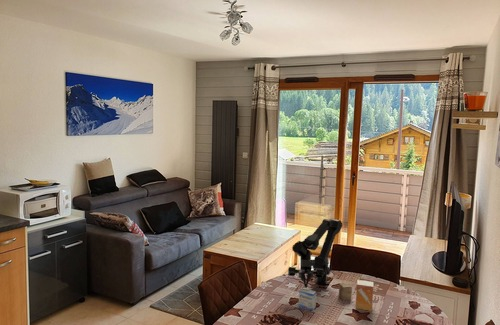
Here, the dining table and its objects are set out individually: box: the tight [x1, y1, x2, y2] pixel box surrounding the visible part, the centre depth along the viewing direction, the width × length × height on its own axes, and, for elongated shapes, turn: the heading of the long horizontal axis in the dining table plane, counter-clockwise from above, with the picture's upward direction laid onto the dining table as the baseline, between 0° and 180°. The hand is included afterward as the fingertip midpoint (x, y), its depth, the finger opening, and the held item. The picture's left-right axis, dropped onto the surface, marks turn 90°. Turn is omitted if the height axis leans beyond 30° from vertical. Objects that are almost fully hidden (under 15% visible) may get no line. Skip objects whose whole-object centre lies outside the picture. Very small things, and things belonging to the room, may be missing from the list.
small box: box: [355, 279, 375, 312], centre depth 199 cm, size 8×6×13 cm
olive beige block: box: [338, 282, 353, 301], centre depth 210 cm, size 5×5×7 cm
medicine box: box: [298, 287, 317, 311], centre depth 198 cm, size 8×4×9 cm, turn 62°
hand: (305, 287), depth 203 cm, fingers closed
